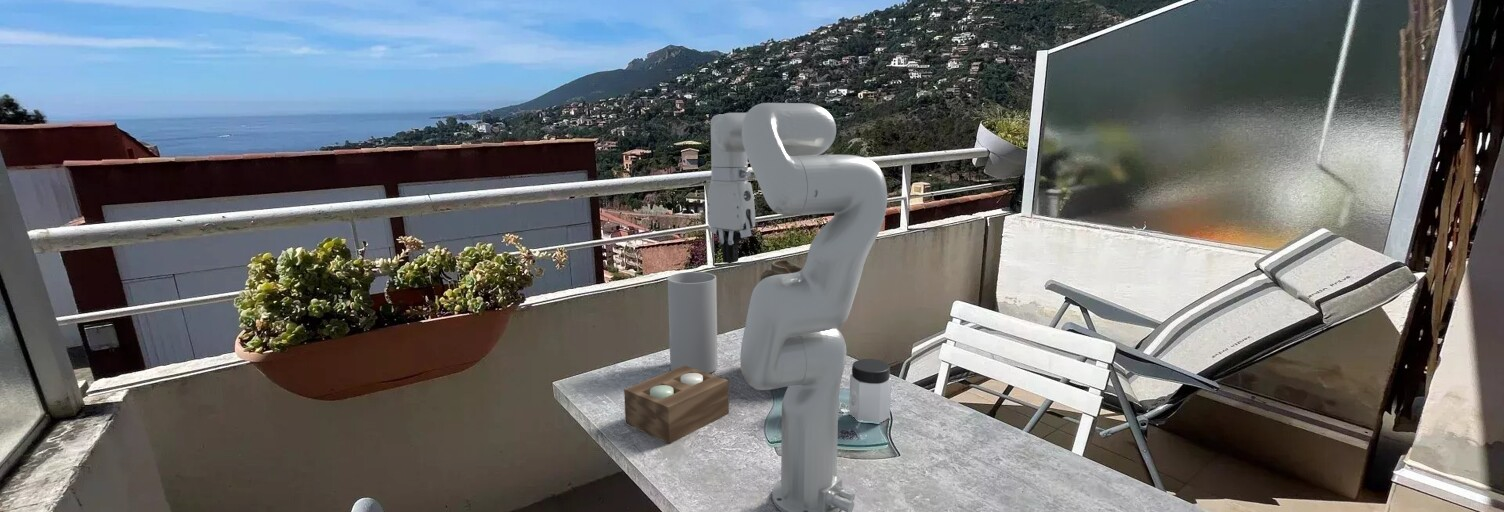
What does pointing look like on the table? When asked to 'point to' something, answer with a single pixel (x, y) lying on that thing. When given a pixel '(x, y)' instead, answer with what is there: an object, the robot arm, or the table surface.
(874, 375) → the jar
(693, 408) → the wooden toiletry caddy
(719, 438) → the table surface
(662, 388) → the sage button
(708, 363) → the cylinder vase
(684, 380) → the ivory button
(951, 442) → the table surface
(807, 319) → the robot arm
